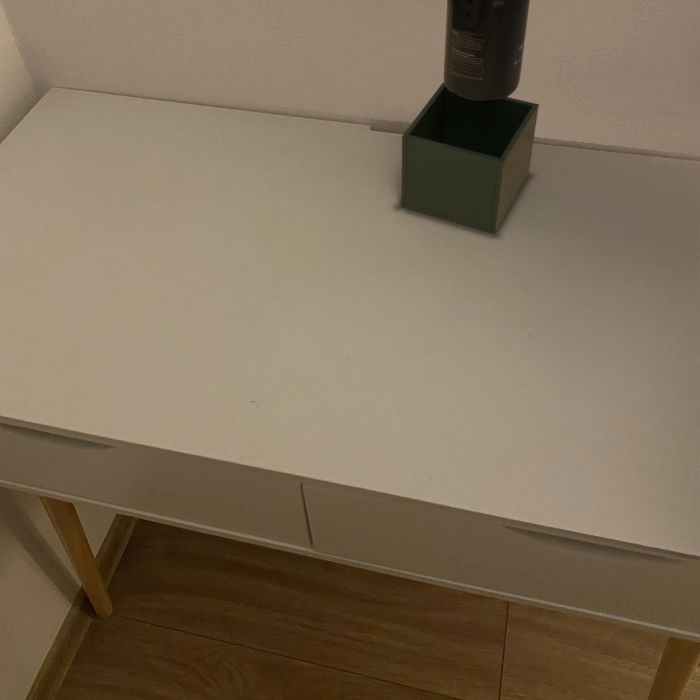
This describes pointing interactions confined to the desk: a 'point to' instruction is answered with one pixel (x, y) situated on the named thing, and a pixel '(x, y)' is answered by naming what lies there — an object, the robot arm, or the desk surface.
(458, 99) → the open box
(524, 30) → the supplement bottle
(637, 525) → the desk surface
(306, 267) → the desk surface
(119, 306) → the desk surface
